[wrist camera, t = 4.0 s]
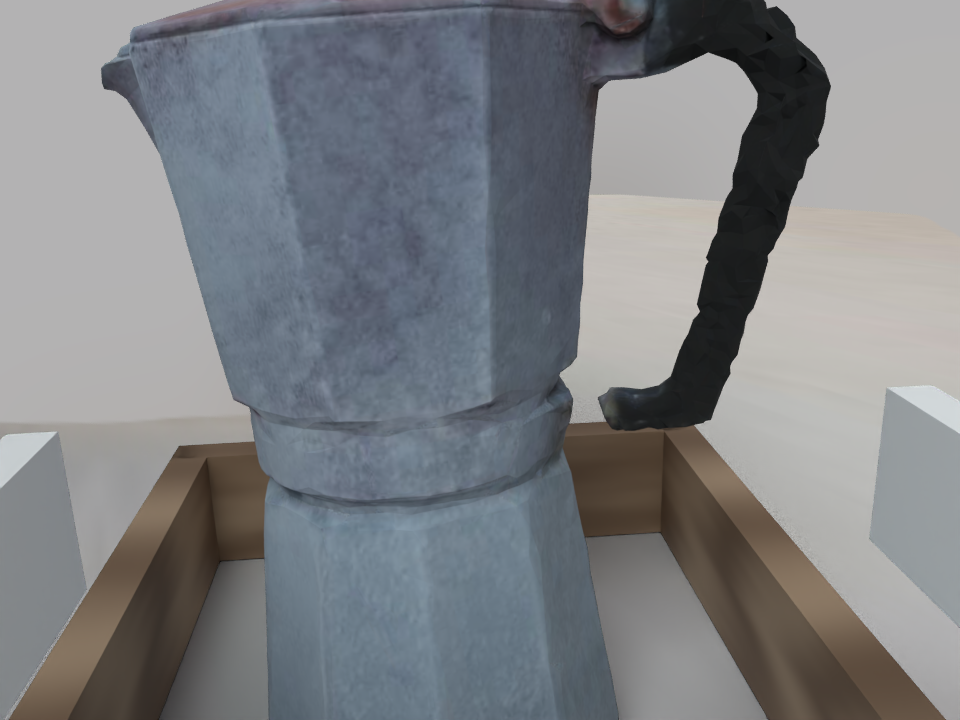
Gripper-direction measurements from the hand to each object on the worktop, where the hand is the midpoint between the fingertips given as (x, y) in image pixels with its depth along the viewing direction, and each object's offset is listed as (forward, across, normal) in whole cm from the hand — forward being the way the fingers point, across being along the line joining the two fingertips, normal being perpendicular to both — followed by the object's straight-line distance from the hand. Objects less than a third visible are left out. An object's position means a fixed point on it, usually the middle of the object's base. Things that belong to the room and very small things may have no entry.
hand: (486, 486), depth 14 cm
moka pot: (+7, 0, -10) cm, 12 cm away
